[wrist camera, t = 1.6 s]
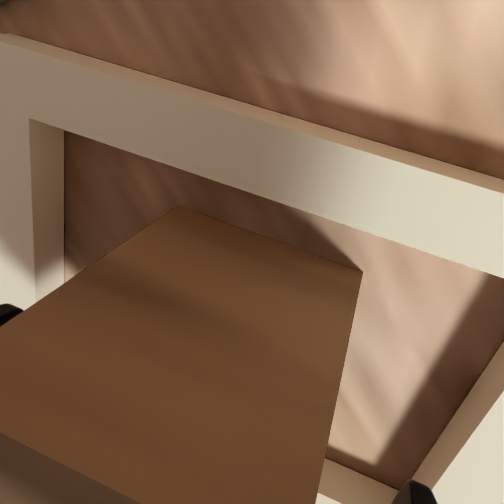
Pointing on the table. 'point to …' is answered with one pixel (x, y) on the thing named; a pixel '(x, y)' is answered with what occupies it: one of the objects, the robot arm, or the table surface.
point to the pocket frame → (259, 183)
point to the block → (177, 373)
